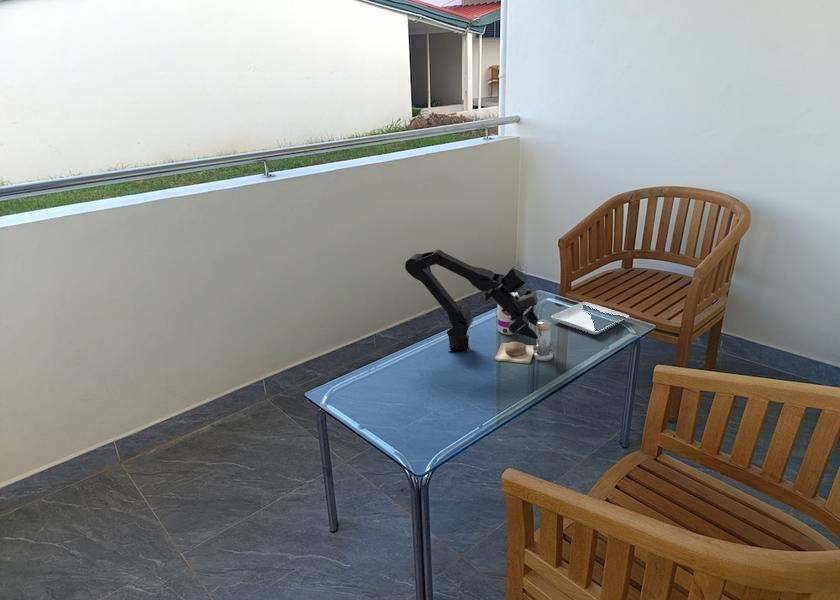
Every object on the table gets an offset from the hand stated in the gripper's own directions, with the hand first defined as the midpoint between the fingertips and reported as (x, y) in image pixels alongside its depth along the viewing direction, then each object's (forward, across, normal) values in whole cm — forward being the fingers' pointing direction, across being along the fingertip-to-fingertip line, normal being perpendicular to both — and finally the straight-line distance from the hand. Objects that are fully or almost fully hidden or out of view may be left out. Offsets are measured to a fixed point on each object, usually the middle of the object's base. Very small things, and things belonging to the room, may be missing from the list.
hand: (539, 332), depth 202 cm
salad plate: (+17, +31, -3) cm, 36 cm away
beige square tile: (0, 0, +12) cm, 12 cm away
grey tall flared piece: (+7, 0, +5) cm, 9 cm away
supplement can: (-4, +18, +16) cm, 25 cm away
